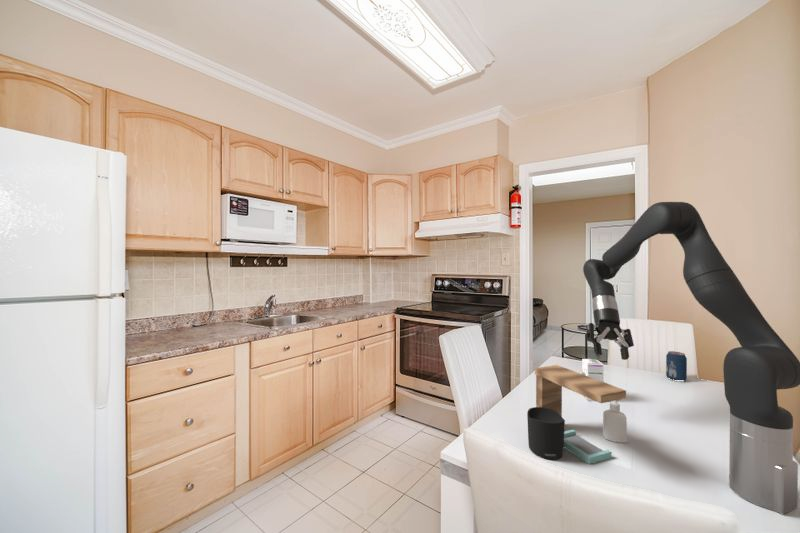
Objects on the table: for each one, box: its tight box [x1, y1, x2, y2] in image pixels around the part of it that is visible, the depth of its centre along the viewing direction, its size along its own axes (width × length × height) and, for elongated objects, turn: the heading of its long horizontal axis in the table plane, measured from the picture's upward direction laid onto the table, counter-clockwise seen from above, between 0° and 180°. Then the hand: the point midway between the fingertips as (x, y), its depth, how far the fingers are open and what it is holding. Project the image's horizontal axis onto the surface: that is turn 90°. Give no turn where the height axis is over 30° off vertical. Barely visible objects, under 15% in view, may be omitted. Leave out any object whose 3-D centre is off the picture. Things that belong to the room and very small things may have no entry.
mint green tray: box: [563, 429, 613, 465], centre depth 88 cm, size 12×8×2 cm, turn 20°
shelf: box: [534, 364, 627, 418], centre depth 90 cm, size 22×9×19 cm, turn 20°
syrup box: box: [581, 358, 605, 402], centre depth 121 cm, size 6×6×14 cm
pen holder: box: [526, 406, 566, 461], centre depth 87 cm, size 9×9×10 cm
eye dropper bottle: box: [602, 400, 628, 444], centre depth 92 cm, size 4×6×12 cm
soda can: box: [665, 350, 688, 381], centre depth 141 cm, size 7×7×12 cm
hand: (612, 357), depth 103 cm, fingers open, 8 cm apart
